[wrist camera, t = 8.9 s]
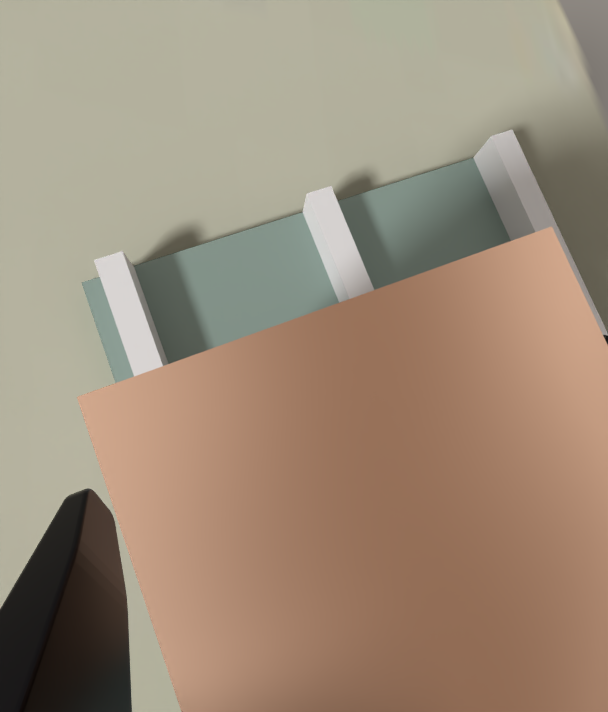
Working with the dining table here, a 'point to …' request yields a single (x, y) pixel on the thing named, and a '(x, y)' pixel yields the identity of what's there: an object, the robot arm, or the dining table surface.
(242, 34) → the dining table surface
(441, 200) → the slot board
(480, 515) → the plug block
